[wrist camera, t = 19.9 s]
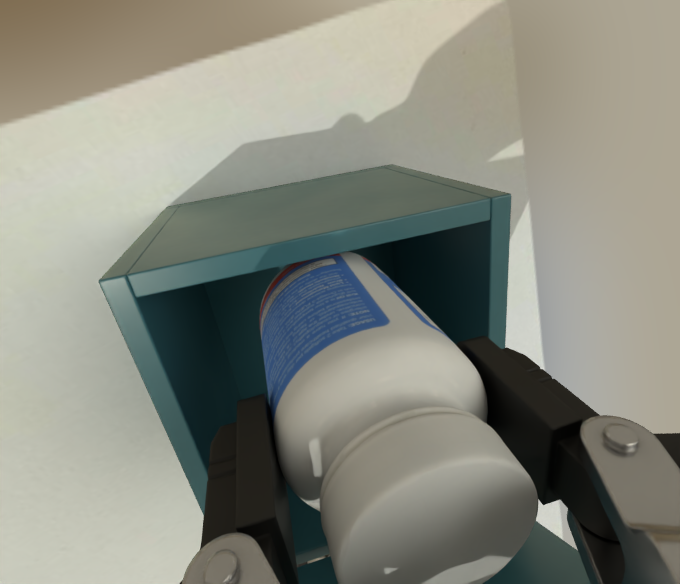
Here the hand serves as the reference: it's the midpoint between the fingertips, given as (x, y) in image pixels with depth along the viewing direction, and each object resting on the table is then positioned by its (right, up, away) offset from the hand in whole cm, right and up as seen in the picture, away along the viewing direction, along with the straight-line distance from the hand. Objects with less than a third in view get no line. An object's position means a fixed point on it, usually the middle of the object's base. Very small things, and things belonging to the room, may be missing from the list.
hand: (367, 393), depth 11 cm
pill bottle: (-1, +2, +5) cm, 6 cm away
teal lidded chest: (-3, +2, +16) cm, 16 cm away
